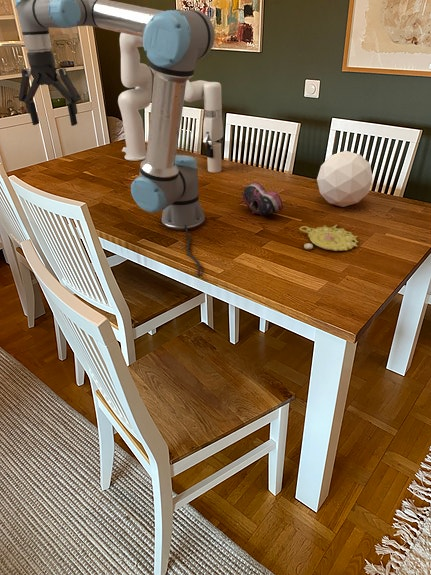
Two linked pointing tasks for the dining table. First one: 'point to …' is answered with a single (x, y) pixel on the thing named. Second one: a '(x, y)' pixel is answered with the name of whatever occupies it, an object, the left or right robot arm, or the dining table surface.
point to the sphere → (344, 178)
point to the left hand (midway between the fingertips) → (214, 155)
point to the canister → (215, 158)
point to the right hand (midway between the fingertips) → (55, 124)
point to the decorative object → (330, 238)
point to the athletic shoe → (261, 200)
